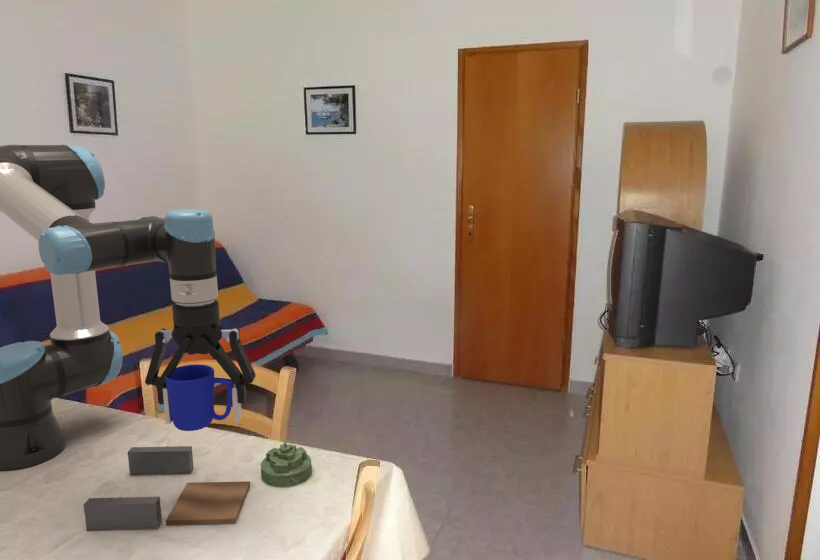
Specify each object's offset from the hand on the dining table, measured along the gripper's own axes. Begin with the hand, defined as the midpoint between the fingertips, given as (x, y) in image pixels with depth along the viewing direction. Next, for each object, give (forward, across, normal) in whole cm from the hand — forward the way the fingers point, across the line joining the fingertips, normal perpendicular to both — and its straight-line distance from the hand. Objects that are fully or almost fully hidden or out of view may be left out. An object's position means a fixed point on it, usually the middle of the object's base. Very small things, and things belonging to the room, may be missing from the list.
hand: (204, 419), depth 106 cm
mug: (+1, 0, 0) cm, 1 cm away
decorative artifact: (+17, +12, +10) cm, 24 cm away
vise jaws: (+17, -13, +4) cm, 22 cm away
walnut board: (+17, 0, 0) cm, 17 cm away
